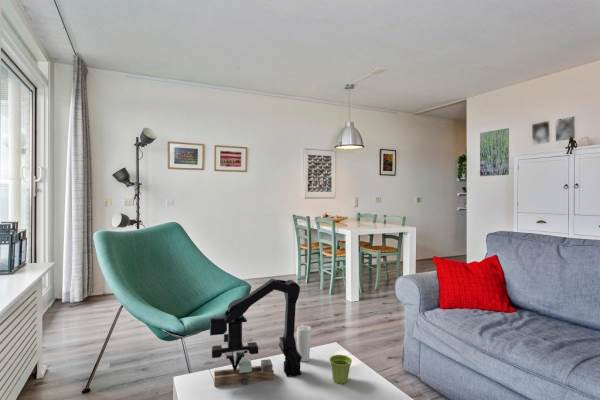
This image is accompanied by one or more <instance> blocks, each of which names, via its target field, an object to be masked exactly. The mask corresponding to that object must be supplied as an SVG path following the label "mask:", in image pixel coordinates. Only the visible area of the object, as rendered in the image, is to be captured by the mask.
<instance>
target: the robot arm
mask: <svg viewBox="0 0 600 400" xmlns="http://www.w3.org/2000/svg"><path fill="white" fill-rule="evenodd" d="M273 291H279V292H282V293H283V295H284V299H285V313H284V315H285V316H284V329H283V330H284V331H283V336H279V337H278V338H279V343H278V347H279V348H280V350H281V352H282V354H283V356H284V361H283V373H284V374H285V376H286V377H294V376H301V375H302V372H301V362H302V361H301V359H302V357H301V355H300V354H299V352H298V348H297V341H296V338H295V325H296V308H297V307H296V306H297V301H298V300H299V297H300V293H301V286H300V285H299V284H298V283H297V282H296V281H294V280H293V279H287V280H283V279H276V278H270V279H268V281H266V282H265V283H263V284H262V285H261V286H259V287H257V288H256V289H254V290H253V291H251V292H250V293H248V294H247V295H245V296H243V297H239V298H237V299H234V300H232V301H230V303H228V306H227V309H226V311H225V312H224V314H223V315H222V317H210V322H209V336H218V335H219V336H220V335H223V342H224V343H227V347H222V345H221V344H220V345H213V346H212V347H211V358H212V359H216V358H221V357H222V356H223V354H225V356H226V357H225V358H226V359H227V360H228V359H229V361H230V364H231V366H232V369H234V371H236V369H237V368H238V364H239V362H240V361H242V360H241V359H242V358H244V357H245V352H248V353H249V354H250V355H255V354H256V355H257V354H259V346H258V343H257V342H247V345H244V346H243V323H247V322H248V320H247V317H246V316H244V314H245V313H246V312H247V311H249V310H248V309H249V308H250V307H251V306H253V305H254V304H256V303H257V302H258V301H261V299H263V298H265V297H266V296H267V295H269V294H270V293H271V292H273ZM227 331H228V332H227ZM234 353H235V355H234Z"/></svg>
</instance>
